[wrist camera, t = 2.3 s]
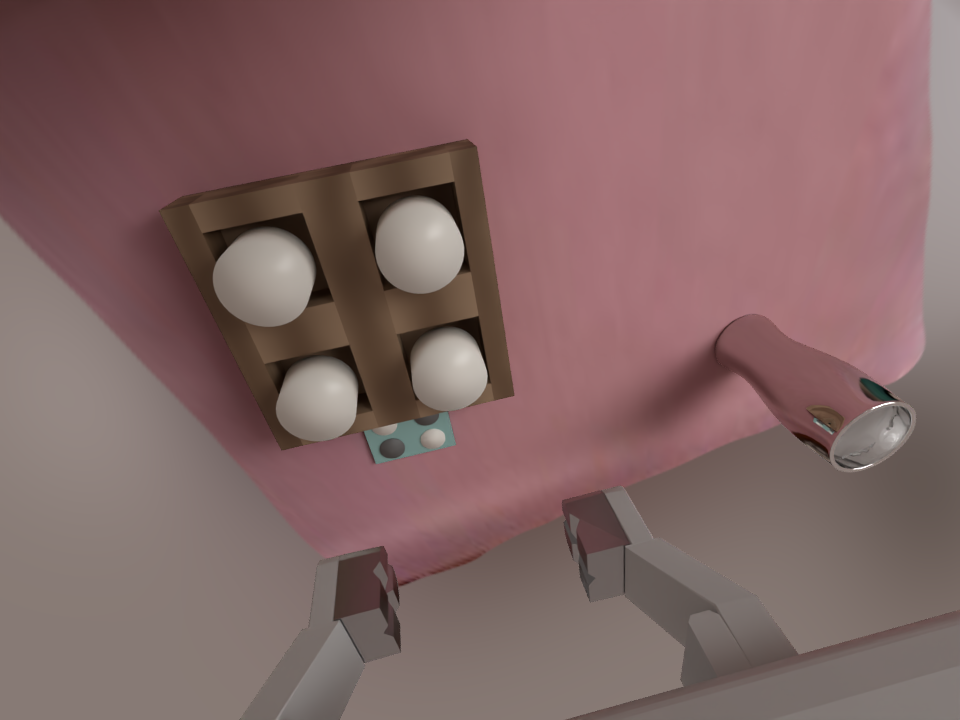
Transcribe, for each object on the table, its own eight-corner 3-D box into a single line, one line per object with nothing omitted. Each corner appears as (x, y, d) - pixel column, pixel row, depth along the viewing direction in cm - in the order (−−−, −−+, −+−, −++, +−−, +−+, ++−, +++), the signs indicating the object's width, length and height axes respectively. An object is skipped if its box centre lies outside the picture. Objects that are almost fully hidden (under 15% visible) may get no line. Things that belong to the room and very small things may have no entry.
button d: (346, 348, 37) (342, 371, 34) (366, 405, 40) (365, 431, 37) (272, 364, 36) (263, 389, 34) (299, 421, 39) (292, 448, 37)
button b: (299, 218, 32) (290, 233, 29) (327, 295, 34) (322, 316, 32) (213, 236, 31) (195, 252, 28) (248, 312, 34) (236, 335, 31)
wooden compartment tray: (467, 139, 34) (476, 146, 31) (504, 371, 45) (514, 395, 41) (181, 196, 33) (158, 210, 30) (289, 420, 44) (281, 450, 40)
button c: (473, 319, 37) (481, 340, 35) (484, 378, 40) (492, 401, 38) (402, 335, 37) (404, 357, 34) (419, 393, 40) (421, 418, 37)
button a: (448, 187, 32) (455, 198, 29) (463, 266, 35) (470, 283, 32) (365, 204, 32) (364, 218, 29) (387, 282, 35) (388, 301, 32)
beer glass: (700, 371, 49) (812, 477, 36) (724, 308, 45) (856, 400, 33) (760, 371, 50) (888, 472, 37) (787, 310, 47) (938, 398, 34)
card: (443, 394, 45) (444, 397, 44) (455, 442, 48) (455, 446, 48) (358, 414, 44) (358, 417, 44) (376, 461, 48) (376, 465, 47)
